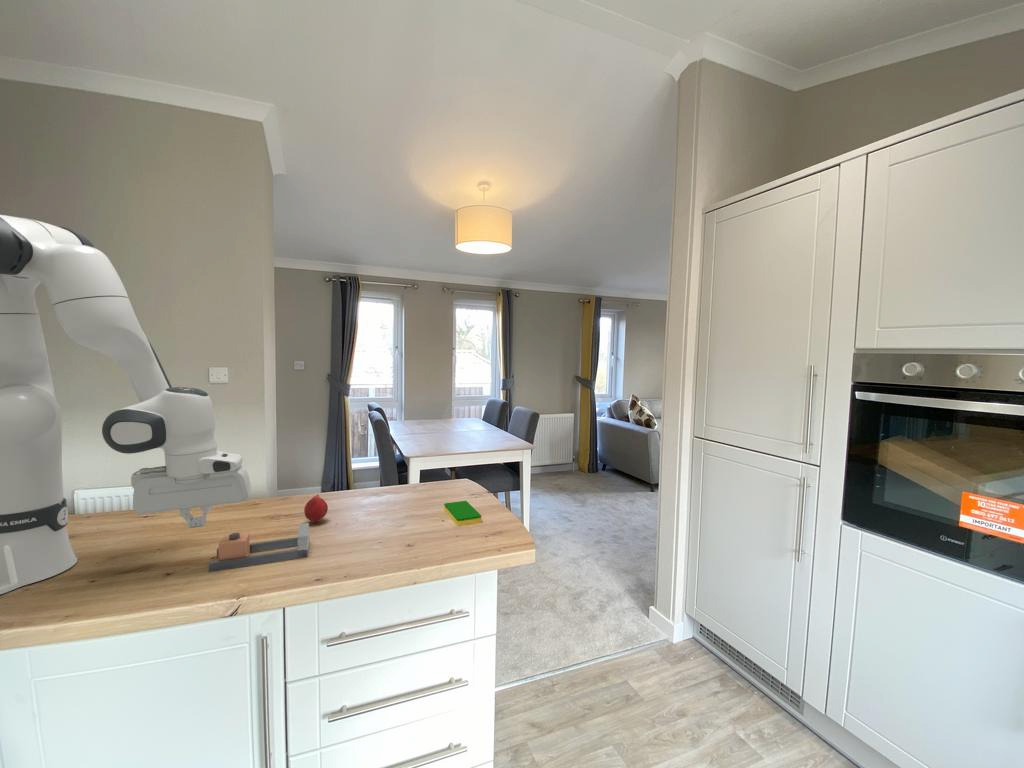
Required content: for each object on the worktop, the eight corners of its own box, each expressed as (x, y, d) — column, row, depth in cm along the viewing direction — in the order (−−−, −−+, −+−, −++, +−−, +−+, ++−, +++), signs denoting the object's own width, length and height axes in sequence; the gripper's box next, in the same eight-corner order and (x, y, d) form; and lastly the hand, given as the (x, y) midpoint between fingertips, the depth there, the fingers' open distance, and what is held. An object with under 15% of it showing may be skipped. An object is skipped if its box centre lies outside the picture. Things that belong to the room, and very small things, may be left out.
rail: (208, 572, 89) (208, 549, 89) (217, 555, 96) (217, 534, 96) (307, 556, 96) (307, 535, 96) (309, 542, 104) (308, 522, 103)
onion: (318, 527, 113) (318, 498, 112) (299, 525, 114) (299, 496, 113) (331, 519, 118) (331, 491, 118) (313, 517, 120) (313, 490, 119)
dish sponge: (466, 507, 131) (466, 500, 131) (481, 524, 119) (481, 515, 118) (443, 510, 128) (443, 503, 128) (457, 527, 116) (457, 519, 115)
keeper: (218, 567, 91) (218, 540, 91) (224, 556, 96) (223, 531, 95) (245, 563, 93) (245, 537, 93) (249, 553, 97) (249, 528, 97)
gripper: (123, 473, 83) (129, 541, 84) (244, 462, 90) (248, 524, 92) (136, 465, 88) (142, 528, 90) (250, 454, 96) (253, 513, 98)
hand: (197, 526), depth 91 cm, fingers closed
